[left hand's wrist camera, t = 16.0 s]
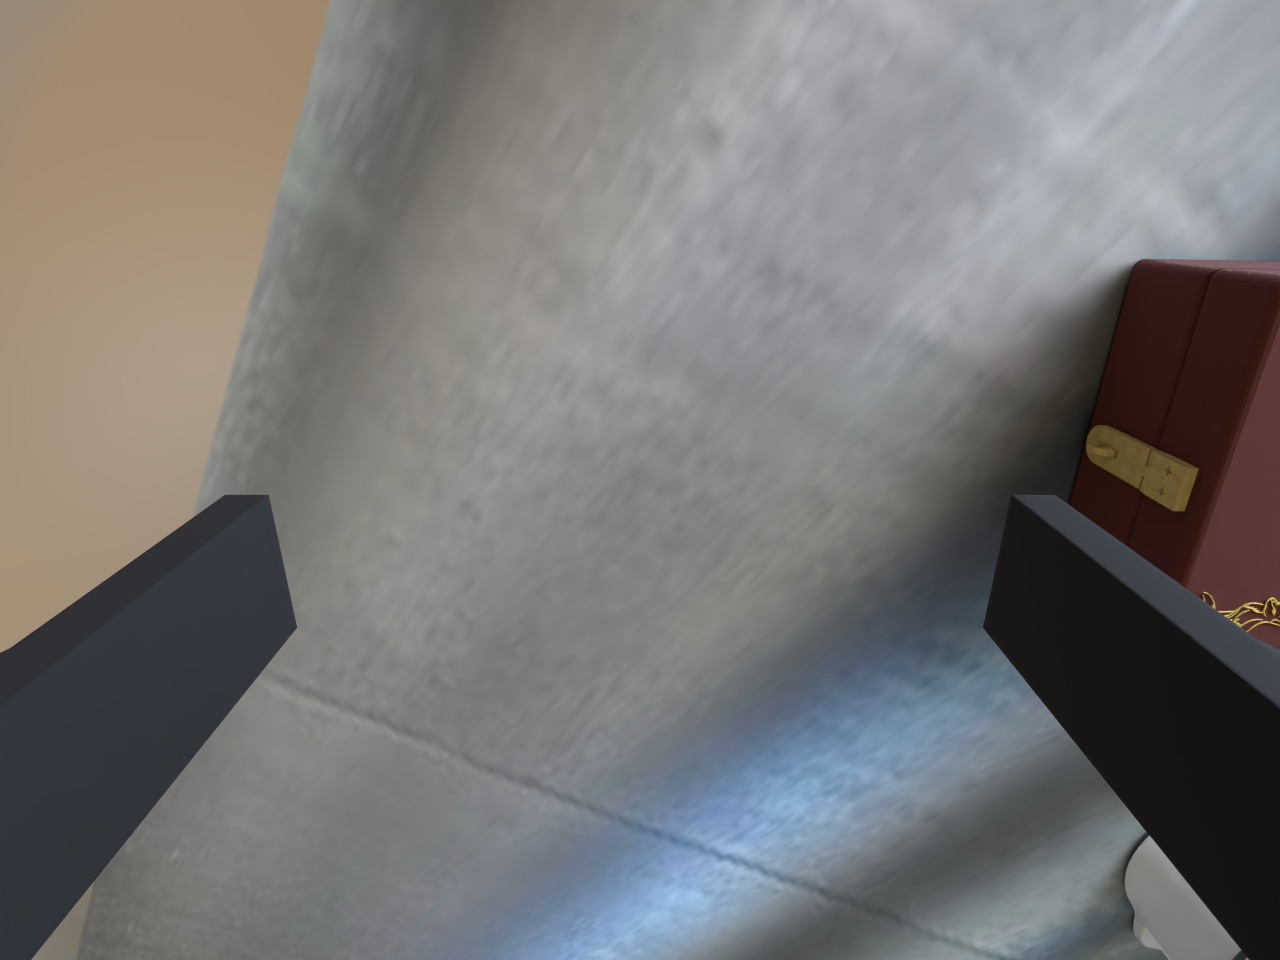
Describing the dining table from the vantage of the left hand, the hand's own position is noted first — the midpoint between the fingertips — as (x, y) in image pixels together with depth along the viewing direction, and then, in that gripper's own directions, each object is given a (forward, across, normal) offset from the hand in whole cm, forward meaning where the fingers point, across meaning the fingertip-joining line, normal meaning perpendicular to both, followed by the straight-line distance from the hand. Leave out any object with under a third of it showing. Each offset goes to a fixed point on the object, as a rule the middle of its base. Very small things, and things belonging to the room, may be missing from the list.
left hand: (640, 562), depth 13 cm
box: (+30, +34, -8) cm, 47 cm away
